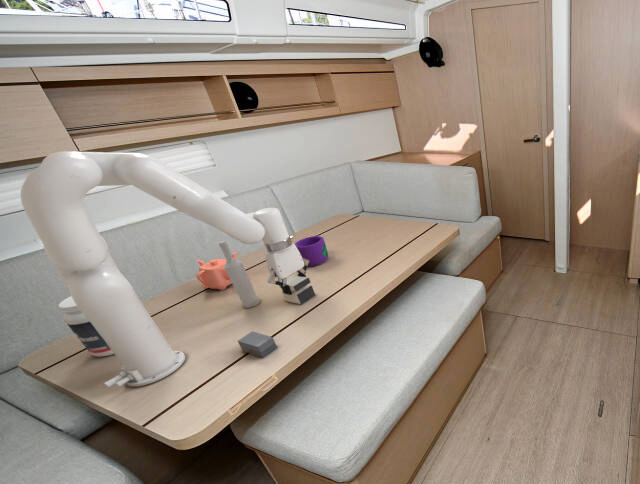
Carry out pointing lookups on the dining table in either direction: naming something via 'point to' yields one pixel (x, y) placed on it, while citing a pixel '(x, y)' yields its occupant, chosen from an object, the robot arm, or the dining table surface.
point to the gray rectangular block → (257, 344)
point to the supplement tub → (84, 329)
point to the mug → (313, 250)
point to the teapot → (214, 273)
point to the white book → (297, 282)
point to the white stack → (300, 295)
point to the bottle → (239, 278)
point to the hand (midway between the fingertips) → (296, 288)
